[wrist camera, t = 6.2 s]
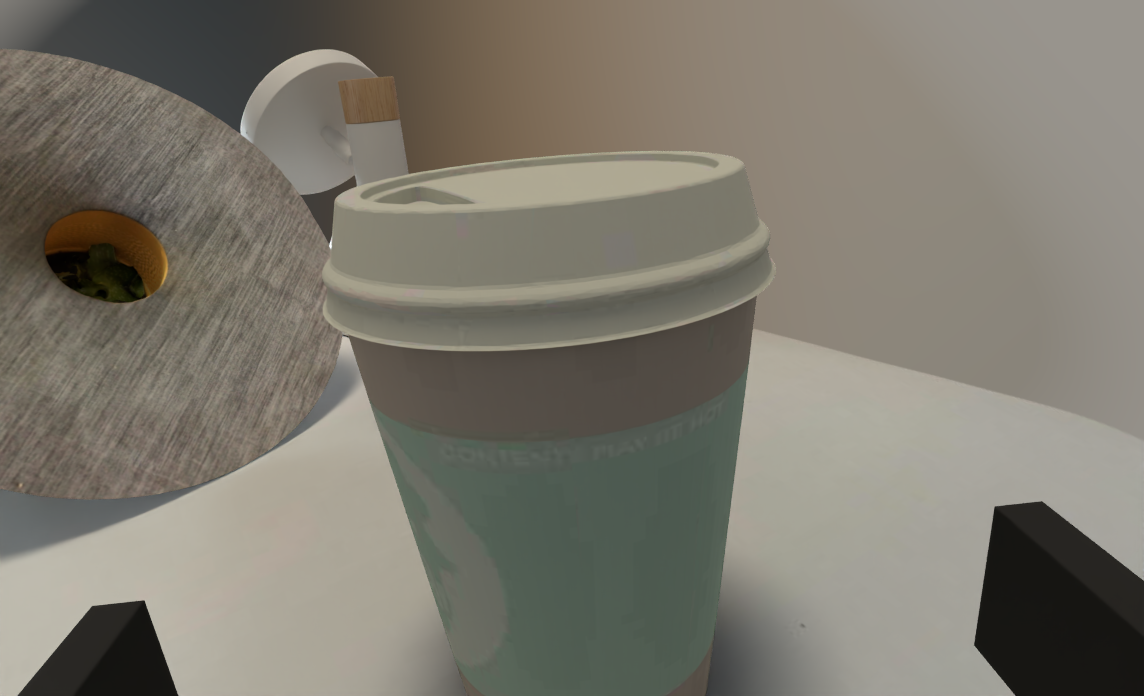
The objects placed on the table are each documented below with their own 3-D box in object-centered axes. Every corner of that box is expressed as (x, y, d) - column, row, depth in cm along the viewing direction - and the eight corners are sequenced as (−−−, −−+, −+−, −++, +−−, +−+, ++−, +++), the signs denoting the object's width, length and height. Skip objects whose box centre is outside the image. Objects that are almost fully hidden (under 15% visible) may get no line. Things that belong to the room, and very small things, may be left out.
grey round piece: (358, 430, 55) (151, 196, 56) (451, 312, 43) (186, 14, 44) (6, 683, 37) (-296, 333, 38) (-3, 601, 25) (-449, 86, 25)
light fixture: (369, 408, 56) (434, 208, 43) (228, 243, 62) (249, 27, 50) (483, 355, 65) (565, 178, 52) (350, 216, 71) (394, 28, 59)
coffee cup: (467, 559, 27) (403, 164, 22) (748, 564, 26) (751, 138, 21) (349, 830, 17) (186, 231, 12) (795, 867, 16) (823, 192, 11)
